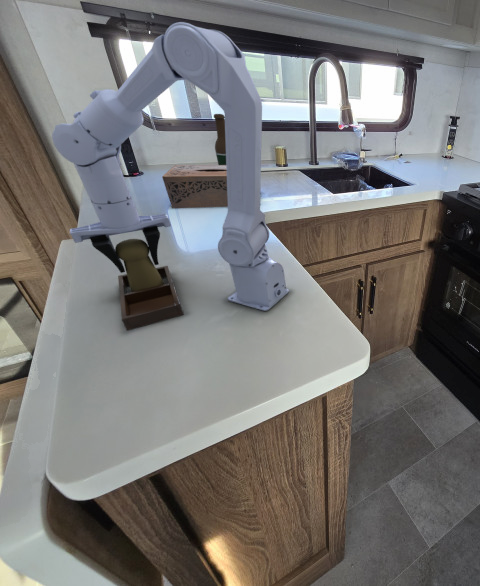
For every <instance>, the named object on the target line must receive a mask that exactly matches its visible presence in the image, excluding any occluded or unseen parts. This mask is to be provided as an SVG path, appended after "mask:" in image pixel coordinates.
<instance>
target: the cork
mask: <svg viewBox="0 0 480 586" xmlns="http://www.w3.org/2000/svg"><path fill="white" fill-rule="evenodd" d="M114 249H115V252H116V254H117V256H118V257H119V259H120V260H121V261H122V262H123V266H124V270H125V273H126V274H127V277H128V281H129V285H130V286H129V288H130V292H134V291H139V290H143V289H147V288H152V287H156V286H160V285H164V284H166V283H165V282H164V280H163V279H162V278H161V276H160V275H159V273H158V271H157V269H156V268H157V267H156V265H155V264H154V262H153V260H152V258H150V257H151V256H149V254H150V250H149V246H148V243H147V241H146V240H145V241H144V240H143V239H139V238H129V239H125V240H122V241H120V242H118V243H117V244H116V245H115V247H114Z"/></svg>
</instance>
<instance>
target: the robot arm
mask: <svg viewBox="0 0 480 586" xmlns="http://www.w3.org/2000/svg"><path fill="white" fill-rule="evenodd" d="M177 81H187V82H189V83H190V84H192V85H194V86H195V87H196V88H198V89H200V90H201V91H203V92H204V93H206V94H207V95H208V96H209V97H210V98H211V99H212V100H213V101H214V102H215V103H216V105H218V106H219V108H221V110H222V111H223V114H224V117H225V118H224V120H225V140H226V168H227V196H228V207H227V213H226V216H225V218H224V222H223V224H222V235H221V237H220V239H219V240H218V242H217V250H218V253H219V256H220V258H222V259H223V260H224V261H225V262H226V263H228V264H229V268H230V272H231V276H232V281H233V285H234V288H235V292H233V293H232V294H231V295H229V296H228V297H227V301H229V302H231V303H236V304H240V305H242V306H246V307H249V308H253V309H257V310H260V311H263V312H268V311H269V310H270V309H271V308H273V306H275V305H276V304H277V303H278V302H279V301H281V299H283V298H284V297H285V296H286V295H287V294H288V293H290V289H288V288H287V284H286V283H287V282H286V276H285V270H284V267H283V265H282V264H281V263H280V262H278V261H276V260H274V259H272V258H271V256H270V255H269V252H268V250H267V248H266V243H268V241H269V238H270V230H269V228H268V226H267V224H266V214H265V213H264V212H263V211H262V210H261V188H262V187H261V185H262V182H261V181H262V180H261V179H262V138H263V137H262V135H263V132H262V131H263V130H262V129H263V103H262V98H261V96H260V94H259V91H258V89H257V87H256V85H255V82H254V80H253V78H252V76H251V74H250V71H249V69H248V67H247V62H246V55H245V54H244V53H243V51H242V50H240V48H239V47H238V45H236V44H235V43H234V40H232V39H231V38H230V37H229V36H228V35H227V34H225V33H224V32H222V31H220V30H217V29H211V28H210V29H207V28H203V27H199V26H195V25H193V24H191V23H190V22H189V23H188V22H185V21H179V22H175V23H172V24H170V25H169V27H167V29H166V30H165V33H164V34H161V35H159V36H157V37H156V38H155V39H154V40H153V43H152V46H151V49H150V50H149V52H148V53H147V54H146V55H145V56H144V57H143V58H142V60H141V61H140V62H139V64H137V66H136V67H135V68H134V70H133V71H132V72H131V74H129V76H128V77H127V78H126V80H125V81H124V82H123V83H122V84H121V86H120V87H119V88H118V89H117V90H115V89H110V88H109V89H108V88H105V89H102V90H101V89H97V90H93V91H92V92H91V93H90V94H89V97H90V98H91V99H92V100H91V101H90V102H89V103H88V105H87V106H85V108H84V109H83V110H82V111H81V110H80V111H76V112H74V114H73V115H72V116H73V118H74V120H73V122H72V123H67V122H66V123H58V124H56V125H55V126H54V129H53V131H52V135H51V138H52V139H51V140H52V143H53V146H54V147H55V149H56V150H57V152H58V153H59V154H60V156H62V157H63V158H64V159H65V160H67V161H69V162H70V163H72V164H73V165H74V168H75V170H76V172H77V174H78V177H79V179H80V181H81V184H82V185H83V187H84V189H85V192H86V194H87V196H88V198H89V201H90V202H91V205H92V207H93V209H94V211H95V213H96V216H97V218H98V220H99V221H98V222H94V223H91V224H87V225H82V226H78V227H73V228H70V229H69V234H70V236H71V239H72V240H73V242H74V243H75V244H77V243H82V242H83V241H85V240H87V241H88V240H90V242H91V246H92V247H93V248H94V249H95V250H97V251H98V252H100V253H101V254H102V255H104V256H105V257H106V259H108V260H109V261H110V262H111V263H112V264H113V265H114V266H115V267H116V268H117V269H118V271H119V273H121V274H123V273H126V269H125V266H124V263H123V261H122V260H121V259H120V258H119V257H118V256H117V254H116V252H115V247H114V245H113V242H112V241H111V238H110V236H117V235H121V234H126V233H132V232H139V231H142V233H143V236H144V239H145V242H146V243H147V245H148V247H149V251H150V252H149V254H150V257H151V260H152V263H153V264H154V266H159V265H160V264H159V258H158V247H159V242H160V238H161V232H160V229H159V228H161V227H163V228H168V227H169V228H170V227H172V225H171V222H170V218H169V217H168V215H167V213H163V214H162V213H161V214H151V215H139V213H138V210H137V208H136V206H135V203H134V200H133V197H132V195H131V193H130V190H129V187H128V184H127V181H126V180H125V177H124V174H123V172H122V169H121V166H122V163H121V160H120V154H121V151H122V144H124V143H125V142H126V140H127V139H129V138H130V136H132V135H133V133H135V132H136V131H137V130H138V129H139V128H140V127H141V126H142V125H143V124H144V116H143V113H142V111H144V109H145V108H146V107H148V106H149V105H150V104H151V103H153V102H154V100H156V99H157V98H158V97H159V96H160V95H163V93H164V92H165V91H167V90H168V89H169V88H170V87H171V86H172V85H174V84H175V83H176V82H177Z"/></svg>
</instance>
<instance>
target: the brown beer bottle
mask: <svg viewBox="0 0 480 586" xmlns="http://www.w3.org/2000/svg"><path fill="white" fill-rule="evenodd" d="M213 118H214V121H215V128H216V136H217V137H216V140H215V143H214V144H215V145H214V150H215V156H216V161H217V165H226V140H225V114H224V113H214V114H213Z"/></svg>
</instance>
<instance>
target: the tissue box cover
mask: <svg viewBox="0 0 480 586" xmlns="http://www.w3.org/2000/svg"><path fill="white" fill-rule="evenodd" d="M161 176H162V181H163V185H164V187H165V191H166V193H167V197H168V199H169V202H170V203H169V204H170V206H171V209H187V208H188V209H192V208H193V209H194V208H197V209H198V208H228V196H227V168H226V165H218V164H189V165H188V164H176V165H175V164H174V165H173V166H172V167H171V168H170V169H169V170H168V171H167V172H165V173H164V174H163V175H161Z"/></svg>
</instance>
